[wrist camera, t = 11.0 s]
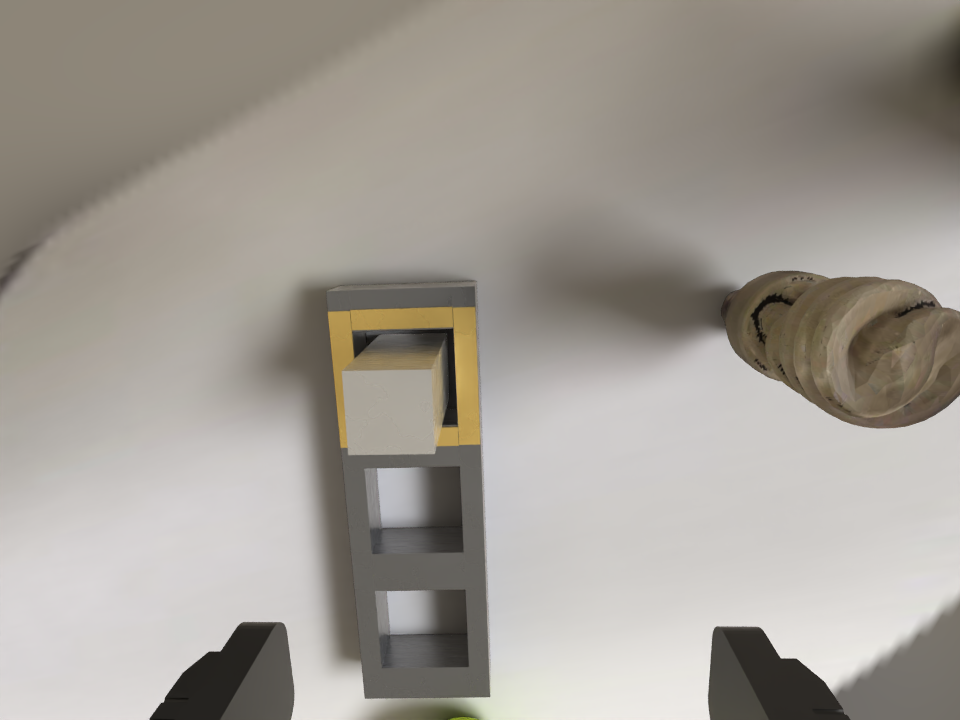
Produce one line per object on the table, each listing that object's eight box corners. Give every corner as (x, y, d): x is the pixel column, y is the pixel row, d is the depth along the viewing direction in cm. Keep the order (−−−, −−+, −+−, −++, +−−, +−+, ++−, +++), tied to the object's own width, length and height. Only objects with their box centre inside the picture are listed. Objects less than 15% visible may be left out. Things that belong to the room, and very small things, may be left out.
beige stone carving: (676, 345, 34) (815, 435, 19) (697, 252, 33) (862, 273, 18) (770, 359, 34) (978, 458, 19) (794, 267, 33) (1037, 299, 18)
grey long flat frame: (476, 280, 33) (474, 286, 30) (490, 661, 39) (490, 698, 36) (340, 285, 34) (325, 291, 31) (374, 663, 40) (364, 699, 36)
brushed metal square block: (446, 333, 34) (431, 369, 25) (449, 397, 35) (434, 454, 26) (380, 334, 34) (341, 371, 26) (384, 398, 35) (348, 454, 26)
